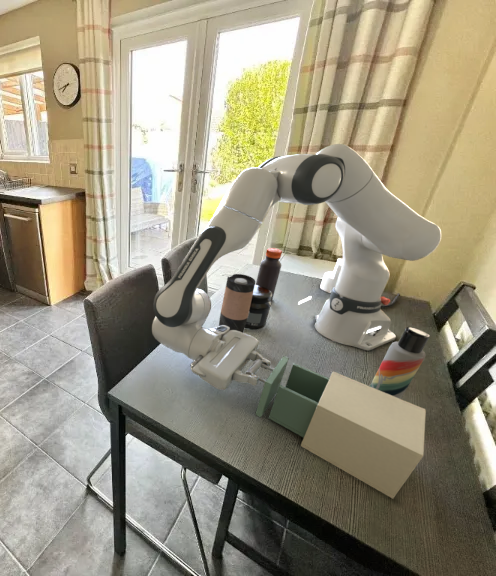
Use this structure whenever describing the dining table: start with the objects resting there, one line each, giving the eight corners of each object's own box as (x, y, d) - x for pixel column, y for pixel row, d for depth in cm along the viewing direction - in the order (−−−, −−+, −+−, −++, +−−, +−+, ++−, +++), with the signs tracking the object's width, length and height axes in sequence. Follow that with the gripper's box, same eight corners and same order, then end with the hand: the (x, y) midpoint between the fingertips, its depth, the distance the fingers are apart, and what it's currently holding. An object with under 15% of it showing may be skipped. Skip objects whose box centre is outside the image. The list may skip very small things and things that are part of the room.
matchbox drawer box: (300, 445, 62) (317, 404, 57) (316, 410, 70) (332, 371, 65) (393, 499, 53) (423, 455, 48) (399, 450, 61) (426, 409, 56)
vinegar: (250, 294, 121) (261, 246, 112) (268, 296, 120) (281, 247, 111) (255, 303, 115) (267, 253, 106) (274, 304, 114) (288, 254, 105)
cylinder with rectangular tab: (346, 296, 119) (357, 268, 114) (319, 290, 124) (329, 263, 118) (345, 288, 126) (356, 260, 121) (320, 282, 131) (329, 256, 125)
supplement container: (261, 315, 107) (269, 285, 101) (269, 333, 97) (278, 300, 92) (230, 312, 109) (236, 282, 103) (234, 329, 99) (241, 296, 94)
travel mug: (244, 345, 91) (258, 286, 83) (217, 342, 93) (229, 283, 84) (240, 331, 98) (252, 274, 89) (215, 328, 100) (225, 272, 91)
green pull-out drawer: (234, 402, 71) (242, 370, 66) (253, 377, 78) (262, 347, 74) (325, 453, 59) (342, 418, 55) (337, 418, 67) (353, 385, 62)
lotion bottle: (359, 391, 75) (393, 323, 66) (381, 390, 76) (417, 322, 67) (380, 410, 70) (419, 339, 61) (402, 408, 70) (445, 337, 61)
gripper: (187, 357, 70) (248, 387, 61) (226, 322, 83) (281, 342, 75) (185, 378, 73) (242, 409, 64) (223, 341, 86) (275, 362, 77)
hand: (263, 373), depth 69 cm, fingers closed on green pull-out drawer, 6 cm apart
